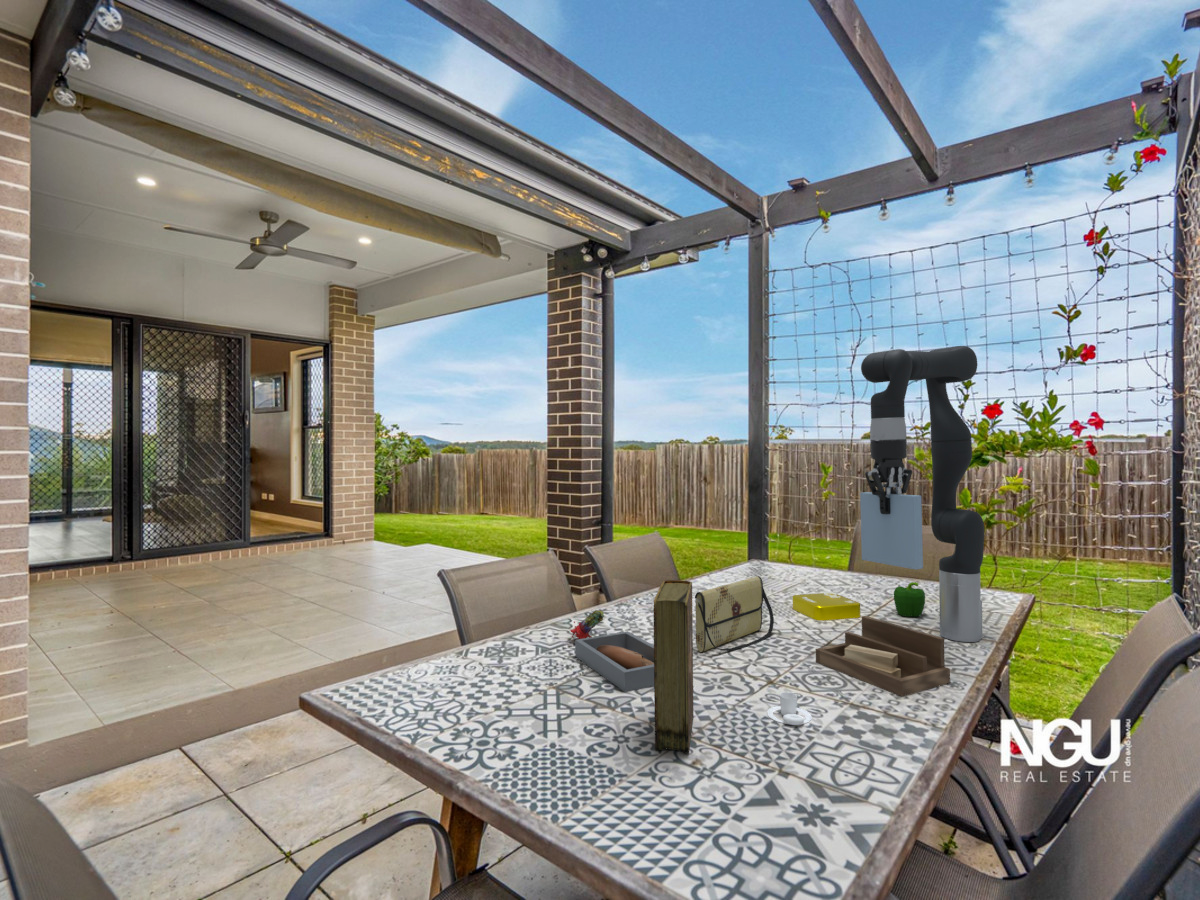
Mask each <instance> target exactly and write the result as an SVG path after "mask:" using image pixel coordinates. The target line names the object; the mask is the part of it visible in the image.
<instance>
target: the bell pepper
mask: <svg viewBox="0 0 1200 900" xmlns="http://www.w3.org/2000/svg"><path fill="white" fill-rule="evenodd" d="M912 586H916V587H918V586H919V582H915V581H912V582H909V583H908V585H907V586H906V587H903V586H900V585H899V586H897V587H896V588H895V589H894V590H893V602H894V605H895V609H896V612H897V614H898V616H899V615H900V616H901V617H914V618H916V617H917V618H918V617H920V616H921V615H923V611H924V609H925V608H924V607H925V605H926V593H925V591H924V589H921V588H914V587H912Z"/></svg>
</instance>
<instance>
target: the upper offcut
mask: <svg viewBox="0 0 1200 900" xmlns="http://www.w3.org/2000/svg"><path fill="white" fill-rule="evenodd" d="M845 658H847V659H850V660H852V661H855V662H858V663H862V664H866V665H871V666H875V667H880V668H884V669H889V670H893V669H895V668H896V667H897V666H898V654H895V653H890V652H885V651H880V650H875V649H870V648H865V647H860V646H855V645H849V646H848V647H846V648H845Z"/></svg>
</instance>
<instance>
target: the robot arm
mask: <svg viewBox="0 0 1200 900" xmlns="http://www.w3.org/2000/svg"><path fill="white" fill-rule="evenodd" d="M977 357H978V356H977V354H976V352H975V351H974V350H973V349H972V348H971V347H969V346H965V345H956V346H950V347H943V348H935V349H931V350H927V351H925V350H905V349H901V348H897V349H891V350H883V351H876V352H871V353H870V354H867V355H866V356H865V357H864V358H863V359H862V362H861V364H860V365H861V366H860V371H861V374H862V376H863V377H864V380H866V381H868V382H870V383H874V384H877V383H887V382H888V385H887V387H886V388H885V390H882V391H880V392H877V393H874V394H873V395H872V396H871V398H870V425H869V427H870V428H869V436H870V437H869V439H870V458H871V459H872V460H874V464H873V467H872V469H871V470H870V471H865V473H864V475H865V478H866V480H867V483H868V486H869V489H870V492H872V494H873V495H876V496H878V497H879V500H880V512H881V514H890V498H889V497H890V494H903V495H904V494H907V492H908V489H909V485H910V482H911V478H912V475H913V470H912V469H910V468H909V469H907V468H906V467H905V464H904V460H903V459H907V457H908V453H907V452H908V449H907V447H908V445H907V423H906V418H905V416H906V414H905V413H906V412H905V411H906V410H905V398H906V394H907V390H908V386H909V382H911V381H921V380H925V384H926V391H927V398H928V406H929V418H930V421H929V422H930V449H931V450H930V452H931V453H930V454H931V462H932V463H931V464H932V500H931V518H930V519H931V521H930V522H931V523H930V524H931V525H930V526H931V530H932V533H933V536H934V537H935V539H936V540H937V541H938V542H941V543H946V544H952V545H955V549H954V552H953V554H951V555H949V556H944V557H941V558H940V559H939V562H938V565H939V567H938V570H939V571H938V572H939V574H938V578H939V581H938V582H939V583H938V584H939V586H938V588H939V593H938V595H939V635H940V636H941V638H944V639H947V640H950V641H956V642H962V643H976V642H980V641H981V640H982V639H981V638H983V601H982V599H981V568H982V567H981V566H982V564H983V561H984V547H985V546H984V545H985V544H984V543H985V524H984V520H983V517H982V515H981V514H980V513H979V512H977V511H975V510H969V509H963V508H961V509H960V508H957V490H958V487H959V484H960V482H961V480H962V479H963V477H964V475H965V474H966V472H967V470H968V469H969V467H970V465H971V461H972V459H973V448H972V447H973V443H972V433H971V430H970V429H969V426H968V425H967V423H966V422H965V421H964V419H963V418H962V417H961V416H960V415H959V413H958V412H957V411H956V409H955V408H954V407H953V405H952V403H951V401H950V399H949V394H948V389H947V384H953V383H961V382H966V381H969V380H971V379H973V378H974V377H975V375H976V373H977V370H978V358H977Z"/></svg>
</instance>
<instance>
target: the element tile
mask: <svg viewBox="0 0 1200 900" xmlns="http://www.w3.org/2000/svg"><path fill="white" fill-rule="evenodd" d="M792 610H793V611H795V612H798V613H800V614H802V615H804V616H806V617H808V618H810V619H812V620H815V621H819V622H820V621H821V622H822V621H823V622H826V621H834V620H835V621H836V620H849V619H859V618H860V617H861V602H859V601H856V600H853V599H851V598H848V597H846V596H844V595H840V594H838V593H834V592H819V593H806V594H805V593H804V594H803V593H802V594H794V595H793V596H792Z"/></svg>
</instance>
